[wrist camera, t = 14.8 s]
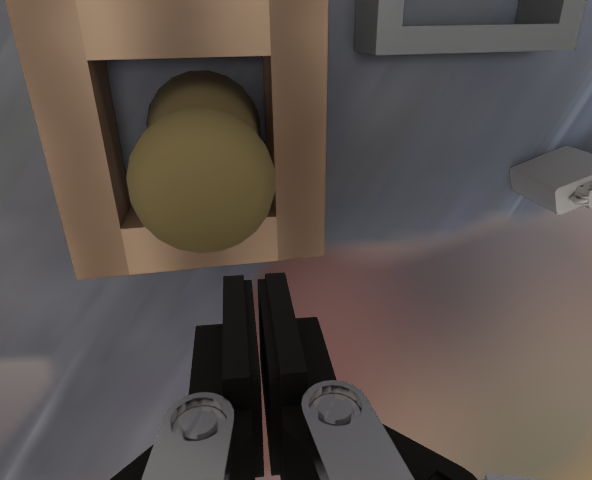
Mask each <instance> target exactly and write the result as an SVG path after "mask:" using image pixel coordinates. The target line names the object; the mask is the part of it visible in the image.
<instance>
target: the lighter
mask: <svg viewBox="0 0 592 480" xmlns="http://www.w3.org/2000/svg"><path fill="white" fill-rule="evenodd" d="M509 172H510V180H511V188H512V190H513V191H515V192H517V193H519V194H521V195H523V196H524V197H526V198H528V199H530V200H532V201H534V202H536V203H537V204H539V205H541V206H543V207H545V208H547V209H549V210H551V211H552V212H554V213H556V214H558V215H562V214H564V213H567V212H569V211H572V210H574V209H576V208H579V207H582V206H585V207H587V208H589V209H592V153H589V152H586V151H583V150H580V149H577V148H574V147H571V146H568V145H565V146H563V147H560V148H558V149H556V150H553V151H551V152H548V153H546V154H543V155H541V156H538V157H536V158H533V159H531V160H528V161H526V162H523V163H521V164H518V165H516V166H513V167H511V169H510V170H509Z"/></svg>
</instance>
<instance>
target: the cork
mask: <svg viewBox="0 0 592 480" xmlns="http://www.w3.org/2000/svg"><path fill="white" fill-rule="evenodd" d="M146 124H147V129H146V130H145V131H144V132H143V134H142V135H141V137H140V139H139V140H138V142H137V144H136V146H135V147H134V149H133V151H132V153H131V154H130V158H129V164H128V170H127V176H126V180H127V186H128V191H129V197H130V202H131V205H132V207H133V209H134V210H135V212H136V214H137V216H138V217H139V219H140V221H141V223H142V225H144V226H145V227H146V228H147V229H148V230H149V231H150V232H151V233H152V234H153V235H154V236H155V237H156V238H157V239H159V240H161V241H162V242H164V243H166V244H168V245H170V246H172V247H174V248H176V249H179V250H185V251H190V252H195V253H208V252H219V251H223V250H225V249H228V248H231V247H233V246H236V245H238V244H241V243H242V242H243V241H244V240H246V239H247V238H248V237H250V236H251V235H252V234H253V233H255V232H256V231H257V230H258V228H259V227H260V225H261V224H262V223H263V221H264V220H265V218H266V217H267V215H268V213H269V210H270V207H271V204H272V200H273V197H274V194H275V190H276V189H275V168H274V165H273V163H272V160H271V157H270V155H269V152H268V149H267V147H266V145H265V144H264V142H263V141H262V140H261V139H260V124H259V116H258V113H257V111H256V108H255V105H254V103H253V101H252V99H251V98H250V97H249V95H248V94H247V93H246V92H245V90H244V89H243V88H242V87H241V86H240V85H239V84H237V83H236V82H234V81H233V80H231V79H230V78H228V77H227V76H225V75H221V74H218V73H215V72H211V71H189V72H186V73H183V74H181V75H178V76H175V77H173V78H171V79H170V80H169V81H168V82H167V83H166V84H164V85H163V86H162V87H161V88H160V89H159V90H158V91H157V93H156V95H155V97H154V98H153V100H152V102H151V104H150V106H149V111H148V117H147V123H146Z"/></svg>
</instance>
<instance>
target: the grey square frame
mask: <svg viewBox="0 0 592 480" xmlns="http://www.w3.org/2000/svg"><path fill="white" fill-rule="evenodd" d="M585 4H586V0H519V6H518V12H517V17H516V23H515V24H479V25H418V26H402V24H403V12H404V0H356V10H355V36H354V51H355V52H360V53H366V54H371V55H405V54H442V53H480V52H518V51H555V50H575V47H576V43H577V39H578V35H579V30H580V26H581V22H582V17H583V13H584V9H585Z"/></svg>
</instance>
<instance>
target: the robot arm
mask: <svg viewBox="0 0 592 480" xmlns="http://www.w3.org/2000/svg"><path fill="white" fill-rule="evenodd" d="M258 306H259V335H260V361H261V374H262V384H263V395H264V404H265V415H266V426H267V436H268V446H269V456H270V466H271V475H272V476H273V475H280V477H281V480H547V479H537V478H527V477H516V476H506V475H496V474H486V475H485V478H484V479H478V478H476V477H475V476H474V475H473V474H472V473H470V472H469V471H467V470H466V469H464V468H463V467H461V466H459V465H458V464H456V463H454V462H452V461H450V460H448V459H446V458H444V457H443V456H441V455H439V454H437V453H435V452H434V451H432V450H430V449H428V448H426V447H424V446H423V445H421V444H419V443H417V442H415V441H413V440H411V439H410V438H408V437H406V436H404V435H402V434H400V433H398V432H397V431H395V430H393V429H391V428H389V427H387V426H385V425H384V424H382V423H381V421H380V419H379V418H378V416H377V415H376V412H375V411H374V409H373V407H372V406H371V404H370V402H369V400H368V399H367V397H366V396H365V395H364V393H363V392H362V391H361V390H360V389H358V388H357V387H355V386H354V385H351V384H349V383H347V382H344V381H337V380H336V377H335V374H334V371H333V367H332V364H331V361H330V357H329V354H328V351H327V348H326V344H325V341H324V338H323V334H322V331H321V328H320V325H319V321H318V319H317V317H309V318H295V314H294V310H293V306H292V301H291V297H290V292H289V288H288V284H287V279H286V275H285V273H270V274H265V279H258ZM261 403H262V402H261V379H260V365H259V355H258V345H257V333H256V322H255V312H254V301H253V291H252V280H244V278H243V275H237V276H224V277H223V324H215V325H202V326H196V330H195V339H194V349H193V359H192V368H191V378H190V388H189V395H187V396H184V397H183V398H181V399H179V400H178V401H176V402H175V403H174V404H173V405H172V406H171V407H170V408H169V409H168V410H167V412H166V414H165V415H164V417H163V420H162V423H161V425H160V428H159V431H158V434H157V437H156V440H155V442H154V445H152V446H151V447H150V448H149V449H147V450H146V451H145V452H144V453H142V454H141V455H140V456H139V457H137V458H136V459H135V460H134V461H132V462H131V463H130V464H129V465H127V466H126V467H125V468H124V469H123V470H121V471H120V472H119V473H118V474H116V475H115V476H114V477H113V478H111V479H110V480H255V478H256V477H264V461H263V431H262V404H261Z"/></svg>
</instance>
